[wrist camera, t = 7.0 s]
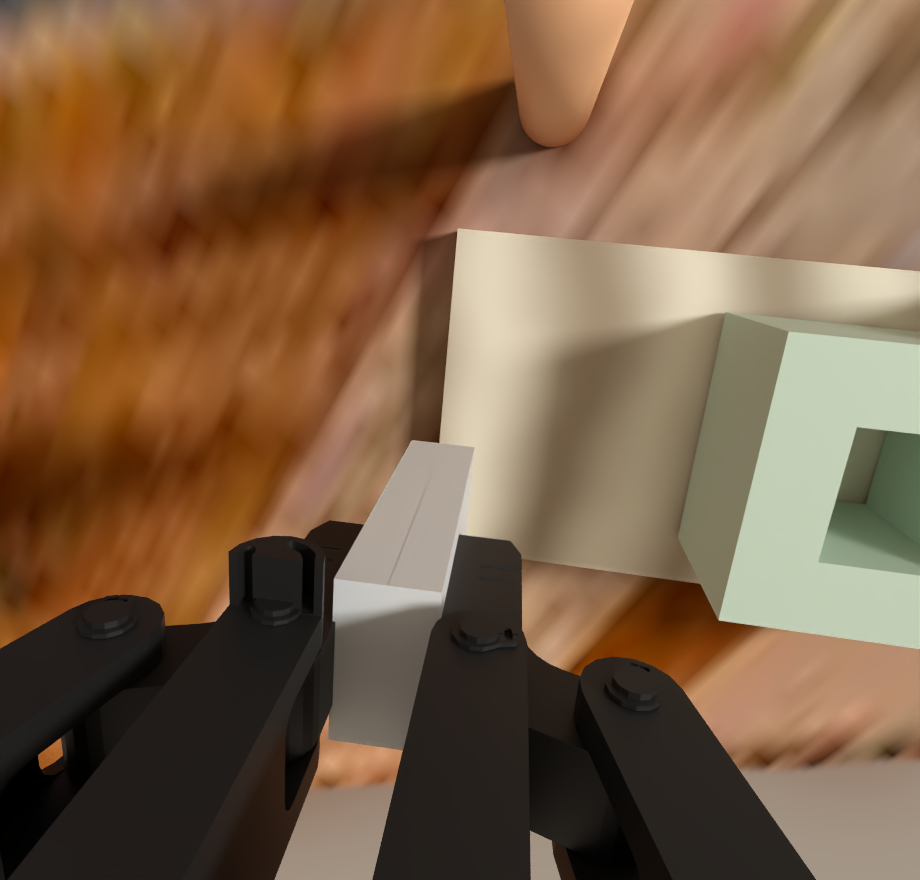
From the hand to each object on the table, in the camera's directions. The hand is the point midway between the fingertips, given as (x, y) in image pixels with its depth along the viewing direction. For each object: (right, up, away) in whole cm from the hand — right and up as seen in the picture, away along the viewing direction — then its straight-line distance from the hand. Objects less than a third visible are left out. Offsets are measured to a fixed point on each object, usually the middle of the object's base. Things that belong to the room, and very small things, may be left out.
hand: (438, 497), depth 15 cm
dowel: (+4, +13, +8) cm, 16 cm away
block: (+14, +1, +9) cm, 17 cm away
